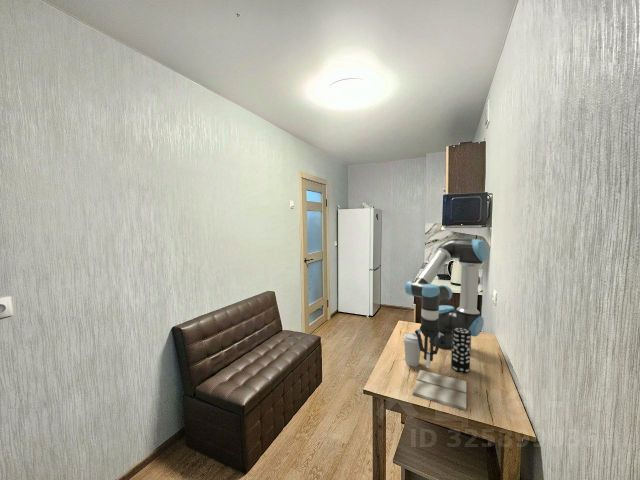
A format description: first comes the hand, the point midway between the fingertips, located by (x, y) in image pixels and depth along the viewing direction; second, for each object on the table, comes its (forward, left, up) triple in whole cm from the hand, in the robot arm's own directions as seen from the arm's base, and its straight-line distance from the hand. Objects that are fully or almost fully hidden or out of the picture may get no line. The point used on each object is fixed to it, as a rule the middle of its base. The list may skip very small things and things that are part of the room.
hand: (428, 366), depth 128 cm
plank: (-2, +6, -5) cm, 8 cm away
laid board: (+6, +13, -5) cm, 15 cm away
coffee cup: (-2, -13, -6) cm, 14 cm away
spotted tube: (-21, 0, -6) cm, 21 cm away
